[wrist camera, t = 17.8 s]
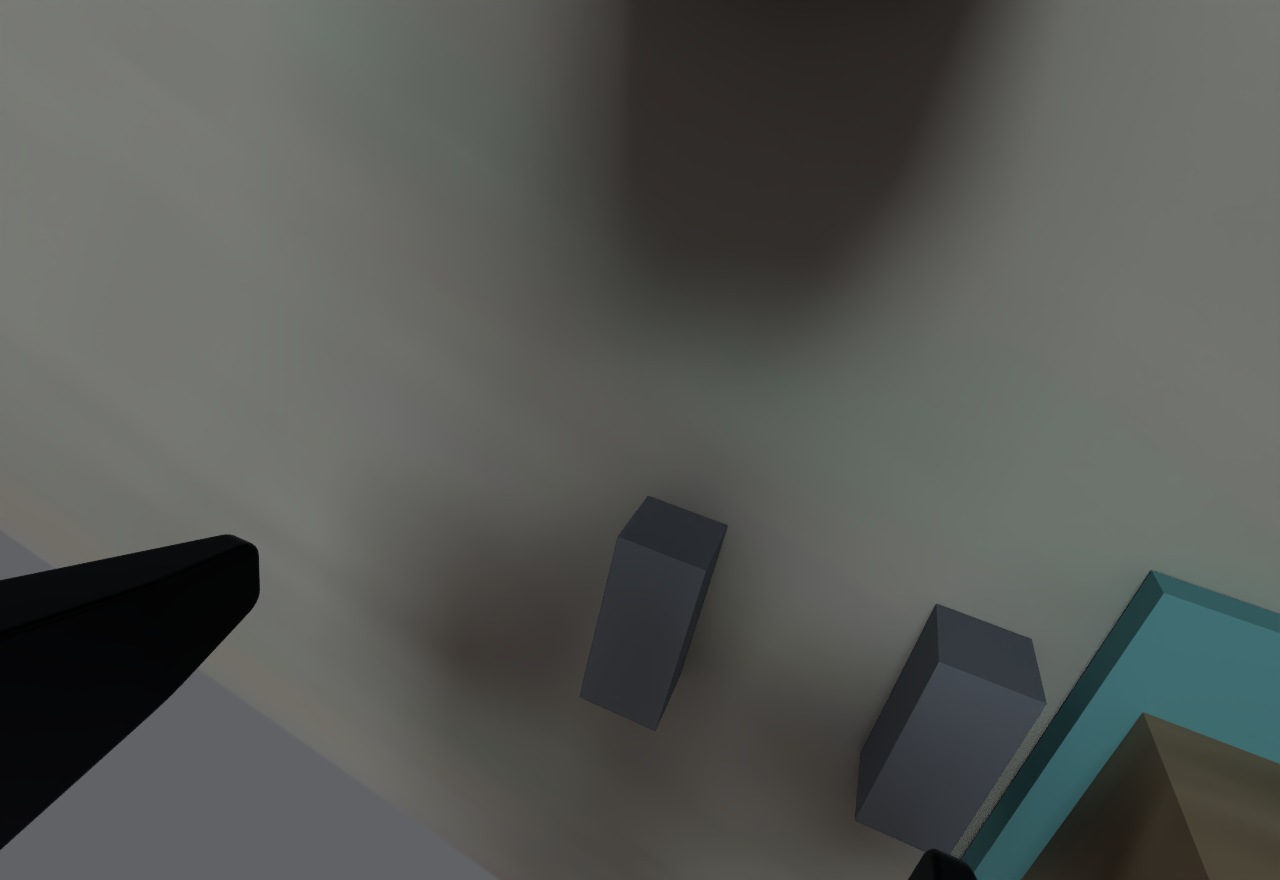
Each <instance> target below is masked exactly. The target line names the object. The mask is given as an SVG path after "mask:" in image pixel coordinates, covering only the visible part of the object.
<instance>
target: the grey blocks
mask: <svg viewBox="0 0 1280 880" xmlns="http://www.w3.org/2000/svg"><path fill="white" fill-rule="evenodd" d="M726 529H727V525H724V524H722V523H719V522H716V521H714V520H711V519H708V518H706V517H703V516H700V515H698V514H695V513H692V512H690V511H687V510H684V509H682V508H679V507H676V506H674V505H671V504H668V503H666V502H663V501H660V500H658V499H655V498H652V497H649V496H648V497H647V498H646V499H645V501H644V502H643V503H642V505H641V506H640V507H639V509H638V510H637V511H636V513H635V514H634V515H633V517H632V518H631V519H630V521H629V522H628V523H627V525H626V526H625V527H624V529H623V530H622V531H621V533H620V534H619V535H618V538H617V542H616V546H615V550H614V555H613V559H612V563H611V567H610V571H609V575H608V580H607V584H606V588H605V592H604V596H603V600H602V605H601V609H600V613H599V617H598V621H597V626H596V630H595V634H594V638H593V642H592V646H591V651H590V655H589V659H588V663H587V667H586V672H585V676H584V680H583V684H582V688H581V692H580V697H581V698H583V699H585V700H587V701H590V702H592V703H594V704H596V705H599V706H601V707H603V708H605V709H607V710H610V711H612V712H614V713H616V714H619V715H621V716H623V717H625V718H628V719H630V720H632V721H634V722H636V723H639V724H641V725H643V726H645V727H648V728H650V729H652V730H654V731H656V729H657V727H658V724H659V722H660V720H661V717H662V715H663V713H664V711H665V708H666V706H667V704H668V702H669V699H670V697H671V695H672V692H673V690H674V688H675V686H676V683H677V681H678V679H679V676H680V673H681V670H682V667H683V664H684V661H685V658H686V655H687V651H688V648H689V645H690V642H691V639H692V636H693V633H694V630H695V626H696V623H697V620H698V617H699V614H700V611H701V608H702V605H703V601H704V598H705V595H706V592H707V589H708V586H709V583H710V580H711V576H712V573H713V570H714V567H715V564H716V561H717V558H718V554H719V551H720V548H721V545H722V542H723V539H724V536H725V533H726ZM1046 704H1047V703H1046V699H1045V695H1044V690H1043V686H1042V682H1041V677H1040V673H1039V669H1038V664H1037V660H1036V656H1035V651H1034V647H1033V643H1032V639H1029V638H1027V637H1024V636H1021V635H1019V634H1016V633H1013V632H1011V631H1008V630H1005V629H1003V628H1000V627H997V626H995V625H992V624H989V623H987V622H984V621H981V620H979V619H976V618H973V617H971V616H968V615H965V614H962V613H960V612H957V611H954V610H952V609H949V608H946V607H944V606H941V605H938V604H936V606H935V608H934V610H933V612H932V614H931V616H930V618H929V620H928V622H927V624H926V626H925V628H924V630H923V631H922V633H921V635H920V637H919V639H918V641H917V643H916V645H915V647H914V649H913V651H912V653H911V655H910V657H909V659H908V661H907V663H906V665H905V667H904V669H903V671H902V673H901V675H900V677H899V679H898V681H897V683H896V685H895V687H894V689H893V691H892V693H891V695H890V697H889V699H888V701H887V703H886V705H885V707H884V709H883V711H882V713H881V715H880V717H879V719H878V721H877V722H876V724H875V726H874V728H873V730H872V732H871V734H870V736H869V738H868V740H867V742H866V744H865V746H864V748H863V750H862V752H861V756H860V767H859V778H858V790H857V801H856V812H855V821H858V822H860V823H862V824H864V825H866V826H869V827H871V828H873V829H875V830H878V831H880V832H882V833H884V834H887V835H889V836H891V837H893V838H895V839H898V840H900V841H902V842H904V843H907V844H909V845H911V846H913V847H916V848H918V849H920V850H922V851H925V852H926V851H928V850H929V849H932V848H933V849H938V850H940V851H942V852H944V853H947V854H949V855H950V853H951V851H952V850H953V848H954V847H955V845H956V844H957V842H958V841H959V839H960V837H961V836H962V834H963V833H964V831H965V830H966V828H967V827H968V825H969V823H970V822H971V820H972V819H973V817H974V816H975V814H976V813H977V811H978V810H979V808H980V806H981V805H982V803H983V802H984V800H985V799H986V797H987V796H988V794H989V792H990V791H991V789H992V788H993V786H994V785H995V783H996V782H997V780H998V778H999V777H1000V775H1001V774H1002V772H1003V771H1004V769H1005V768H1006V766H1007V764H1008V763H1009V761H1010V760H1011V758H1012V757H1013V755H1014V754H1015V752H1016V751H1017V749H1018V747H1019V746H1020V744H1021V743H1022V741H1023V740H1024V738H1025V737H1026V735H1027V733H1028V732H1029V730H1030V729H1031V727H1032V726H1033V724H1034V723H1035V721H1036V719H1037V718H1038V716H1039V715H1040V713H1041V712H1042V710H1043V709H1044V707H1045V706H1046Z"/></svg>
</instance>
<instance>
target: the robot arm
mask: <svg viewBox="0 0 1280 880" xmlns="http://www.w3.org/2000/svg"><path fill="white" fill-rule="evenodd" d="M259 593H260V577H259V553H258V550H257V548H256V546H255V545H253V544H252V543H250V542H248V541H245V540H243V539H241V538H239V537H236V536H234V535H228V534H225V535H219V536H215V537H210V538H205V539H200V540H195V541H190V542H185V543H180V544H175V545H171V546H166V547H161V548H156V549H151V550H146V551H141V552H136V553H131V554H126V555H122V556H117V557H112V558H107V559H102V560H97V561H92V562H87V563H82V564H77V565H73V566H68V567H63V568H58V569H53V570H48V571H43V572H38V573H34V574H29V575H24V576H19V577H14V578H9V579H4V580H0V850H1V849H2V848H3V847H4V846H5V845H6V844H8V842H10V841H11V840H12V839H13V838H14V837H15V836H16V835H17V834H19V833H20V832H21V831H22V830H23V829H24V828H25V827H26V826H27V825H29V824H30V823H31V822H32V821H33V820H34V819H35V818H36V817H38V816H39V815H40V814H41V813H42V812H43V811H44V810H45V809H47V808H48V807H49V806H50V805H51V804H52V803H53V802H54V801H55V800H57V798H59V797H60V796H61V795H62V794H63V793H64V792H65V791H67V790H68V789H69V788H70V787H71V786H72V785H73V784H74V783H75V782H77V781H78V780H79V779H80V778H81V777H82V776H83V775H84V774H85V773H87V772H88V771H89V770H90V769H91V768H92V767H93V766H94V765H95V764H97V763H98V762H99V761H100V760H101V759H102V758H103V757H104V756H105V755H107V754H108V753H109V752H110V751H111V750H112V749H113V748H114V747H115V746H116V745H118V744H119V743H120V742H121V741H122V740H123V739H124V738H126V737H127V735H129V734H130V733H131V732H132V731H133V730H134V729H136V728H137V727H138V726H139V725H140V724H141V723H142V722H143V721H144V720H146V718H148V717H149V716H150V715H151V714H152V713H153V712H154V711H155V710H156V709H158V708H159V706H160V705H162V704H163V703H164V702H165V701H166V700H167V699H168V698H169V697H170V696H171V695H172V694H173V693H174V692H175V691H176V690H177V689H178V688H179V687H180V686H181V685H182V684H183V683H184V682H185V681H186V680H187V679H188V678H189V676H190V675H191V674H192V673H193V672H194V671H195V670H196V669H197V668H198V667H199V666H200V665H201V664H202V662H203V661H204V660H205V659H206V658H207V657H208V656H209V655H210V654H211V653H212V652H213V651H214V650H215V649H216V647H217V646H218V645H219V644H220V643H221V642H222V641H223V640H224V639H225V638H226V637H227V636H228V635H229V634H230V632H231V631H232V630H233V629H234V628H235V627H236V626H237V625H238V624H239V623H240V622H241V621H242V620H243V619H244V617H245V616H246V615H247V614H248V613H249V612H250V611H251V610H252V608H253V607H254V605H255V604H256V602H257V600H258V597H259ZM908 880H978V879H977V877H976V875H975V873H974V872H973V870H972V869H971V867H970V866H969V865H968V864H967V863H966V862H964V861H962V860H960V859H958V858H956V857H953V856H951V855H949V854H947V853H944V852H942V851H940V850H938V849H933V848H932V849H929V850H928V851H926V852H925V853H924V855H923V856H922V858H921V860H920V861H919V863H918V864H917V866H916V868H915V869H914V871H913V872H912V874H911V876H910V877H909V879H908Z"/></svg>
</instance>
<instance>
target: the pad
mask: <svg viewBox="0 0 1280 880" xmlns="http://www.w3.org/2000/svg"><path fill="white" fill-rule="evenodd" d="M1143 712H1145V713H1147V714H1150V715H1152V716H1155V717H1158V718H1160V719H1163V720H1166V721H1168V722H1171V723H1174V724H1176V725H1179V726H1181V727H1184V728H1187V729H1189V730H1192V731H1195V732H1197V733H1200V734H1203V735H1205V736H1208V737H1210V738H1213V739H1216V740H1218V741H1221V742H1224V743H1226V744H1229V745H1231V746H1234V747H1237V748H1239V749H1242V750H1245V751H1247V752H1250V753H1253V754H1255V755H1258V756H1260V757H1263V758H1266V759H1268V760H1271V761H1274V762H1276V763H1279V764H1280V614H1278V613H1275V612H1272V611H1269V610H1266V609H1263V608H1260V607H1257V606H1254V605H1251V604H1248V603H1245V602H1243V601H1240V600H1237V599H1234V598H1231V597H1228V596H1225V595H1222V594H1219V593H1216V592H1213V591H1210V590H1208V589H1205V588H1202V587H1199V586H1196V585H1193V584H1190V583H1187V582H1184V581H1181V580H1178V579H1175V578H1172V577H1170V576H1167V575H1164V574H1161V573H1158V572H1155V571H1151V572H1150V574H1149V575H1148V577H1147V578H1146V580H1145V581H1144V583H1143V584H1142V586H1141V587H1140V589H1139V590H1138V592H1137V593H1136V595H1135V596H1134V598H1133V600H1132V601H1131V603H1130V604H1129V606H1128V607H1127V609H1126V610H1125V612H1124V613H1123V615H1122V616H1121V618H1120V619H1119V621H1118V622H1117V624H1116V625H1115V627H1114V628H1113V630H1112V631H1111V633H1110V634H1109V636H1108V637H1107V639H1106V640H1105V642H1104V644H1103V645H1102V647H1101V648H1100V650H1099V651H1098V653H1097V654H1096V656H1095V657H1094V659H1093V660H1092V662H1091V663H1090V665H1089V666H1088V668H1087V669H1086V671H1085V672H1084V674H1083V675H1082V677H1081V678H1080V680H1079V681H1078V683H1077V684H1076V686H1075V688H1074V689H1073V691H1072V692H1071V694H1070V695H1069V697H1068V698H1067V700H1066V701H1065V703H1064V704H1063V706H1062V707H1061V709H1060V710H1059V712H1058V713H1057V715H1056V716H1055V718H1054V719H1053V721H1052V722H1051V724H1050V725H1049V727H1048V728H1047V730H1046V732H1045V733H1044V735H1043V736H1042V738H1041V739H1040V741H1039V742H1038V744H1037V745H1036V747H1035V748H1034V750H1033V751H1032V753H1031V754H1030V756H1029V757H1028V759H1027V760H1026V762H1025V763H1024V765H1023V766H1022V768H1021V769H1020V771H1019V772H1018V774H1017V776H1016V777H1015V779H1014V780H1013V782H1012V783H1011V785H1010V786H1009V788H1008V789H1007V791H1006V792H1005V794H1004V795H1003V797H1002V798H1001V800H1000V801H999V803H998V804H997V806H996V807H995V809H994V810H993V812H992V813H991V815H990V816H989V818H988V820H987V821H986V823H985V824H984V826H983V827H982V829H981V830H980V832H979V833H978V835H977V836H976V838H975V839H974V841H973V842H972V844H971V845H970V847H969V848H968V850H967V851H966V853H965V854H964V856H963V857H962V859H961V860H962V861H964V862H966V863H967V864H968V865H969V866H970V867H971V869H972V870H973V872H974V873H975V875H976V877H977V879H978V880H1021V879H1022V878H1023V876H1024V875H1025V874H1026V872H1027V871H1028V869H1029V868H1030V867H1031V865H1032V864H1033V863H1034V861H1035V860H1036V858H1037V857H1038V856H1039V854H1040V853H1041V852H1042V850H1043V849H1044V847H1045V846H1046V845H1047V843H1048V842H1049V841H1050V839H1051V838H1052V836H1053V835H1054V834H1055V832H1056V831H1057V830H1058V828H1059V827H1060V825H1061V824H1062V823H1063V821H1064V820H1065V819H1066V817H1067V816H1068V814H1069V813H1070V812H1071V810H1072V809H1073V808H1074V806H1075V805H1076V803H1077V802H1078V801H1079V799H1080V798H1081V797H1082V795H1083V794H1084V792H1085V791H1086V790H1087V788H1088V787H1089V786H1090V784H1091V783H1092V781H1093V780H1094V779H1095V777H1096V776H1097V775H1098V773H1099V772H1100V770H1101V769H1102V768H1103V766H1104V765H1105V763H1106V762H1107V761H1108V759H1109V758H1110V757H1111V755H1112V754H1113V752H1114V751H1115V750H1116V748H1117V747H1118V746H1119V744H1120V743H1121V741H1122V740H1123V739H1124V737H1125V736H1126V735H1127V733H1128V732H1129V730H1130V729H1131V728H1132V726H1133V725H1134V724H1135V722H1136V721H1137V719H1138V718H1139V717H1140V715H1141V714H1142V713H1143Z"/></svg>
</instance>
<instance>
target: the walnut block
mask: <svg viewBox="0 0 1280 880" xmlns="http://www.w3.org/2000/svg"><path fill="white" fill-rule="evenodd" d="M1021 880H1280V764H1279V763H1276V762H1274V761H1271V760H1268V759H1266V758H1263V757H1260V756H1258V755H1255V754H1253V753H1250V752H1247V751H1245V750H1242V749H1239V748H1237V747H1234V746H1231V745H1229V744H1226V743H1224V742H1221V741H1218V740H1216V739H1213V738H1210V737H1208V736H1205V735H1203V734H1200V733H1197V732H1195V731H1192V730H1189V729H1187V728H1184V727H1181V726H1179V725H1176V724H1174V723H1171V722H1168V721H1166V720H1163V719H1160V718H1158V717H1155V716H1152V715H1150V714H1147V713H1145V712H1143V713H1142V714H1141V715H1140V717H1139V718H1138V719H1137V721H1136V722H1135V724H1134V725H1133V726H1132V728H1131V729H1130V730H1129V732H1128V733H1127V735H1126V736H1125V737H1124V739H1123V740H1122V741H1121V743H1120V744H1119V746H1118V747H1117V748H1116V750H1115V751H1114V752H1113V754H1112V755H1111V757H1110V758H1109V759H1108V761H1107V762H1106V763H1105V765H1104V766H1103V768H1102V769H1101V770H1100V772H1099V773H1098V775H1097V776H1096V777H1095V779H1094V780H1093V781H1092V783H1091V784H1090V786H1089V787H1088V788H1087V790H1086V791H1085V792H1084V794H1083V795H1082V797H1081V798H1080V799H1079V801H1078V802H1077V803H1076V805H1075V806H1074V808H1073V809H1072V810H1071V812H1070V813H1069V814H1068V816H1067V817H1066V819H1065V820H1064V821H1063V823H1062V824H1061V825H1060V827H1059V828H1058V830H1057V831H1056V832H1055V834H1054V835H1053V836H1052V838H1051V839H1050V841H1049V842H1048V843H1047V845H1046V846H1045V847H1044V849H1043V850H1042V852H1041V853H1040V854H1039V856H1038V857H1037V858H1036V860H1035V861H1034V863H1033V864H1032V865H1031V867H1030V868H1029V869H1028V871H1027V872H1026V874H1025V875H1024V876H1023V878H1022V879H1021Z"/></svg>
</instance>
